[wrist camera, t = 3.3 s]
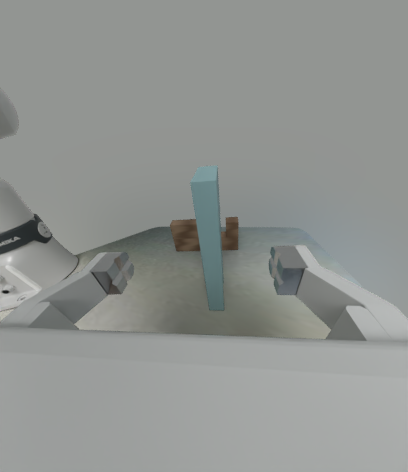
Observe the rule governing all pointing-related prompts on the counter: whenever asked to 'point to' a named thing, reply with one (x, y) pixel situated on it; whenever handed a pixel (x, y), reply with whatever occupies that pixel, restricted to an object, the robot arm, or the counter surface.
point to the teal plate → (209, 231)
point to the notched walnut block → (189, 240)
